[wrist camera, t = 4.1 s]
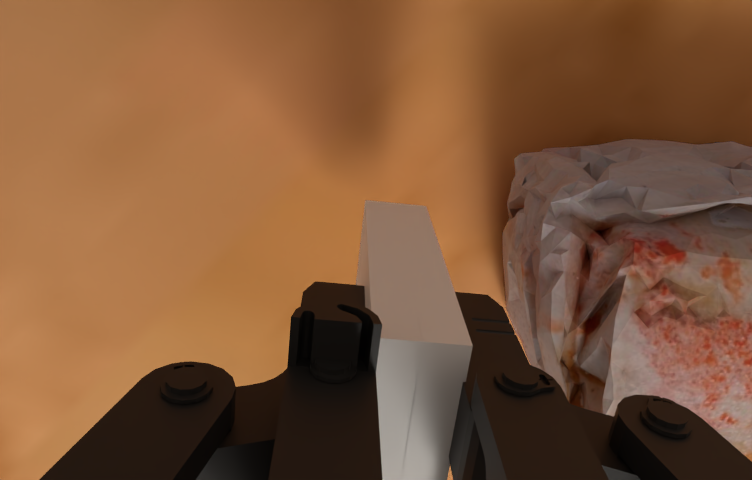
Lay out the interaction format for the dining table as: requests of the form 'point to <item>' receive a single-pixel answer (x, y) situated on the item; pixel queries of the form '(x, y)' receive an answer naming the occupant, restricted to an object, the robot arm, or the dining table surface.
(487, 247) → the dining table surface
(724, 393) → the food item
